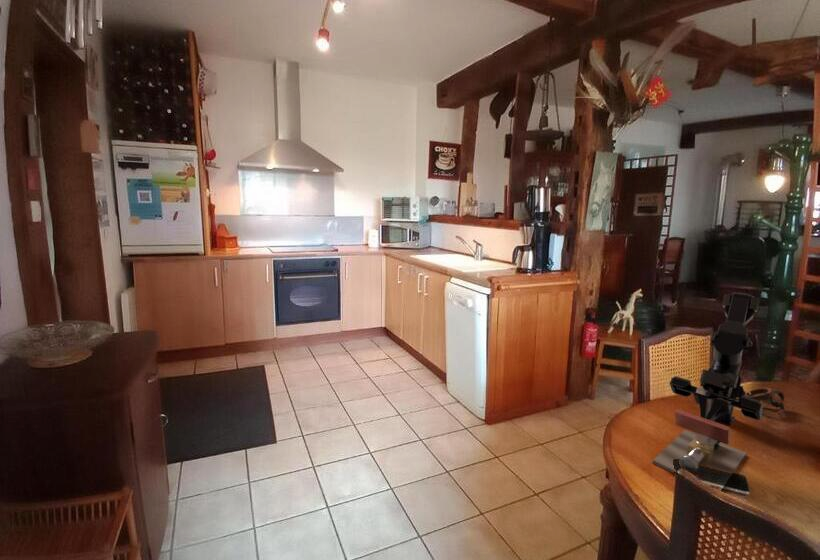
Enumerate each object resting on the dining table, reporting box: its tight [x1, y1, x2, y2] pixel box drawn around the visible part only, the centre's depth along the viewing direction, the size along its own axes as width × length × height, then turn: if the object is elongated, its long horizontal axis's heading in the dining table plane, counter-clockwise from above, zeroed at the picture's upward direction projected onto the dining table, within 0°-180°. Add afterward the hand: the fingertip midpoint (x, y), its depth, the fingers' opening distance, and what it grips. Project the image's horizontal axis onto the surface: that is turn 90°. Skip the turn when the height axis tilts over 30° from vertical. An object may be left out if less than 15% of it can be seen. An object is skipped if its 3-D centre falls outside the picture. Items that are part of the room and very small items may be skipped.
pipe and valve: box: [679, 437, 721, 473], centre depth 105 cm, size 20×4×4 cm, turn 130°
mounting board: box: [652, 429, 747, 491], centre depth 106 cm, size 23×14×1 cm, turn 130°
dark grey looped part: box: [745, 387, 787, 419], centre depth 132 cm, size 12×10×8 cm
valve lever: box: [674, 408, 731, 446], centre depth 102 cm, size 1×11×9 cm, turn 39°
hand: (702, 426), depth 102 cm, fingers closed, pressing on valve lever
